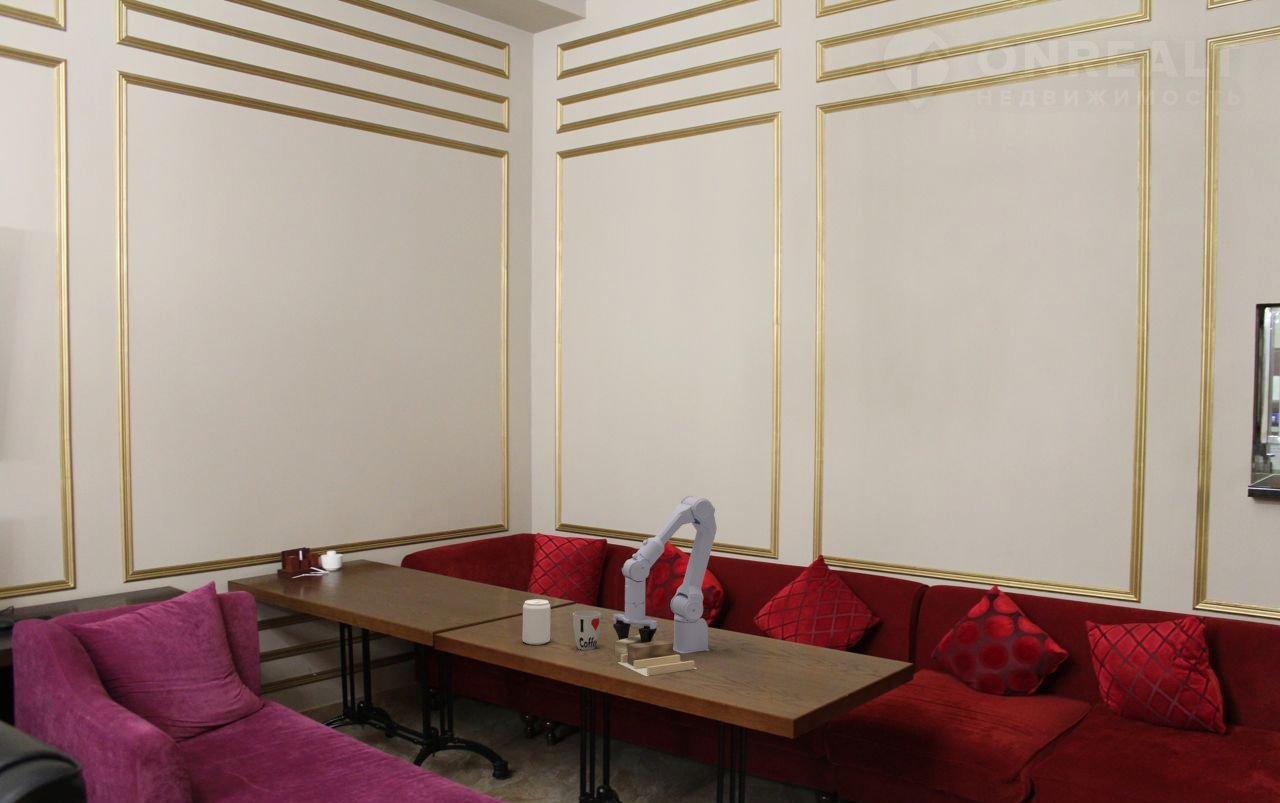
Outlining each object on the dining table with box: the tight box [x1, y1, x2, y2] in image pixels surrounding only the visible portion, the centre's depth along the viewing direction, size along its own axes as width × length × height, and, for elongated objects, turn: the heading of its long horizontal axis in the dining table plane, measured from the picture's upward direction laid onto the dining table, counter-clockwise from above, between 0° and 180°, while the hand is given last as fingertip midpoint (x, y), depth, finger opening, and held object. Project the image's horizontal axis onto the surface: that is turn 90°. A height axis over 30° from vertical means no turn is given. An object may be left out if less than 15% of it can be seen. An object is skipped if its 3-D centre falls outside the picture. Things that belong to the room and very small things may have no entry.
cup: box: [572, 610, 602, 651], centre depth 283 cm, size 8×8×10 cm
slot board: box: [617, 654, 698, 677], centre depth 262 cm, size 16×15×3 cm
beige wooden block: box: [614, 634, 654, 659], centre depth 275 cm, size 12×4×5 cm, turn 141°
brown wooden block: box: [628, 639, 674, 666], centre depth 265 cm, size 12×4×5 cm, turn 120°
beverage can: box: [522, 598, 551, 646], centre depth 289 cm, size 8×8×12 cm
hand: (634, 650), depth 275 cm, fingers open, 7 cm apart
